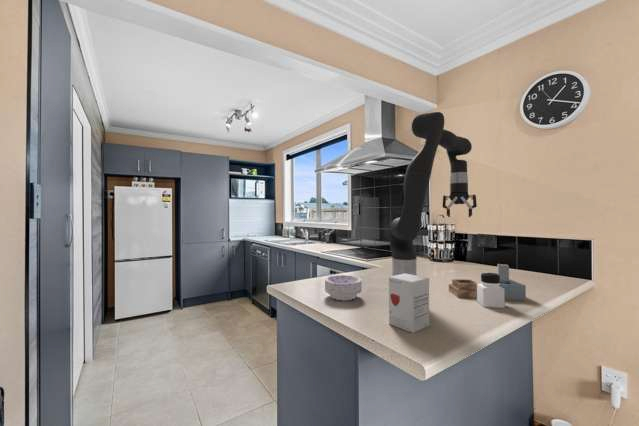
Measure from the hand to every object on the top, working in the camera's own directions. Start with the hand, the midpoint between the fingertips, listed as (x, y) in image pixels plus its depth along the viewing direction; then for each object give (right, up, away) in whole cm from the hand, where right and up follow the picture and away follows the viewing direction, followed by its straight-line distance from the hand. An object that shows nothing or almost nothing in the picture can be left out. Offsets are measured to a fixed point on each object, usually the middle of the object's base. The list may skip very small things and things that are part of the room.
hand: (459, 217), depth 131 cm
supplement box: (-38, -33, -44) cm, 67 cm away
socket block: (-3, -33, -11) cm, 35 cm away
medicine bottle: (-1, -33, -25) cm, 42 cm away
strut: (+12, -32, -14) cm, 37 cm away
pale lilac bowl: (-56, -34, -15) cm, 67 cm away
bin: (+12, -33, -14) cm, 38 cm away
